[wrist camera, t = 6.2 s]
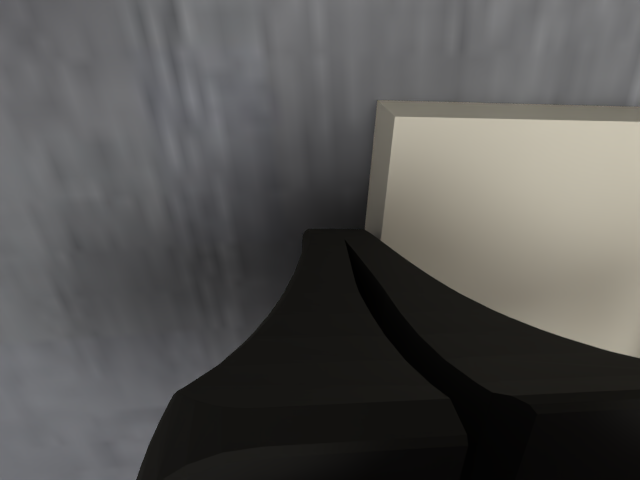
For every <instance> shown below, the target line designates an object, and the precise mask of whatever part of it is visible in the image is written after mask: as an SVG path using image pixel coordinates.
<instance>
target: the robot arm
mask: <svg viewBox="0 0 640 480" xmlns="http://www.w3.org/2000/svg"><path fill="white" fill-rule="evenodd" d="M136 480H640V358H636V357H632V356H628V355H624V354H620V353H615V352H611V351H608V350H604V349H600V348H597V347H594V346H591V345H587V344H584V343H581V342H577V341H574V340H571V339H568V338H564V337H561V336H559V335H556V334H553V333H550V332H547V331H544V330H541V329H538V328H536V327H533V326H531V325H528V324H526V323H523V322H521V321H518V320H516V319H513V318H511V317H508V316H506V315H504V314H501V313H499V312H497V311H495V310H492V309H490V308H488V307H486V306H484V305H482V304H480V303H478V302H476V301H474V300H472V299H470V298H468V297H466V296H464V295H462V294H460V293H459V292H457V291H455V290H453V289H451V288H450V287H448V286H446V285H445V284H443V283H441V282H440V281H438V280H437V279H435V278H433V277H432V276H430V275H429V274H427V273H425V272H424V271H422V270H421V269H419V268H418V267H417V266H415V265H414V264H412V263H411V262H409V261H408V260H407V259H405V258H404V257H402V256H401V255H400V254H398V253H397V252H395V251H394V250H393V249H391V248H390V247H389V246H387V245H386V244H385V243H383V242H382V241H381V240H379V239H378V238H377V237H375V236H374V235H372V234H371V233H370V232H368V231H366V230H365V229H308V230H307V231H305V232H304V233H303V240H302V254H301V257H300V260H299V262H298V265H297V268H296V270H295V273H294V275H293V277H292V278H291V280H290V282H289V284H288V286H287V288H286V290H285V292H284V293H283V295H282V297H281V298H280V300H279V301H278V303H277V304H276V306H275V307H274V308H273V310H272V311H271V313H270V314H269V315H268V317H267V318H266V319H265V320H264V321H263V322H262V324H261V325H260V326H259V327H258V328H257V329H256V331H255V332H254V333H253V334H252V335H251V336H250V337H249V338H248V339H247V340H246V341H245V342H244V343H243V344H242V345H241V346H240V347H238V348H237V349H236V350H235V351H234V352H233V353H232V354H231V355H229V356H228V357H227V358H226V359H225V360H224V361H223V362H221V363H220V364H219V365H218V366H216V367H215V368H213V369H212V370H210V371H209V372H207V373H205V374H204V375H202V376H201V377H199V378H198V379H196V380H195V381H193V382H192V383H190V384H189V385H187V386H185V387H184V388H182V389H180V390H178V391H177V392H176V393H175V394H174V395H173V397H172V399H171V400H170V402H169V404H168V406H167V408H166V410H165V412H164V414H163V416H162V418H161V420H160V422H159V424H158V426H157V428H156V430H155V433H154V435H153V437H152V439H151V442H150V444H149V446H148V449H147V452H146V454H145V457H144V460H143V462H142V465H141V467H140V470H139V473H138V476H137V479H136Z"/></svg>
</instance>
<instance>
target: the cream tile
mask: <svg viewBox="0 0 640 480" xmlns="http://www.w3.org/2000/svg"><path fill="white" fill-rule="evenodd" d="M365 230H366V231H368V232H370V233H371V234H372V235H374V236H375V237H377V238H378V239H379V240H381V241H382V242H383V243H385V244H386V245H387V246H389V247H390V248H391V249H393V250H394V251H395V252H397V253H398V254H400V255H401V256H402V257H404V258H405V259H407V260H408V261H409V262H411V263H412V264H414V265H415V266H417V267H418V268H419V269H421V270H422V271H424V272H425V273H427V274H429V275H430V276H432V277H433V278H435V279H437V280H438V281H440V282H441V283H443V284H445V285H446V286H448V287H450V288H451V289H453V290H455V291H457V292H459V293H460V294H462V295H464V296H466V297H468V298H470V299H472V300H474V301H476V302H478V303H480V304H482V305H484V306H486V307H488V308H490V309H492V310H495V311H497V312H499V313H501V314H504V315H506V316H508V317H511V318H513V319H516V320H518V321H521V322H523V323H526V324H528V325H531V326H533V327H536V328H538V329H541V330H544V331H547V332H550V333H553V334H556V335H559V336H561V337H564V338H568V339H571V340H574V341H577V342H581V343H584V344H587V345H591V346H594V347H597V348H600V349H604V350H608V351H611V352H615V353H620V354H624V355H628V356H632V357H636V358H640V107H626V106H587V105H548V104H509V103H470V102H431V101H392V100H377V110H376V120H375V130H374V140H373V151H372V161H371V171H370V181H369V191H368V201H367V211H366V222H365Z"/></svg>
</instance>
